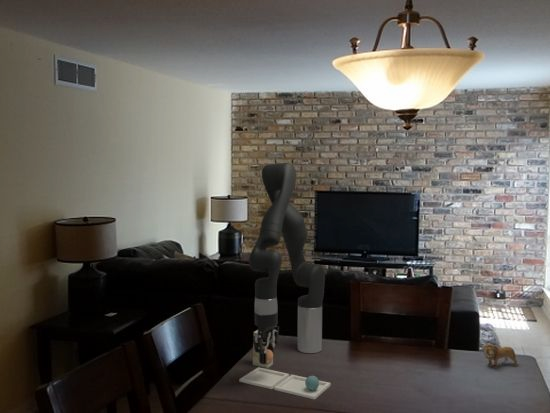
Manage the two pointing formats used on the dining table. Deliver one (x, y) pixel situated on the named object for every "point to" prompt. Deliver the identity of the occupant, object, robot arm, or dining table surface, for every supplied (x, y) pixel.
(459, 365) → the dining table surface
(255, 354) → the skincare box
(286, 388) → the tray
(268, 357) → the ball terracotta
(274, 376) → the tray
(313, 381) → the ball teal
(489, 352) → the lion figurine
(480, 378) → the dining table surface
